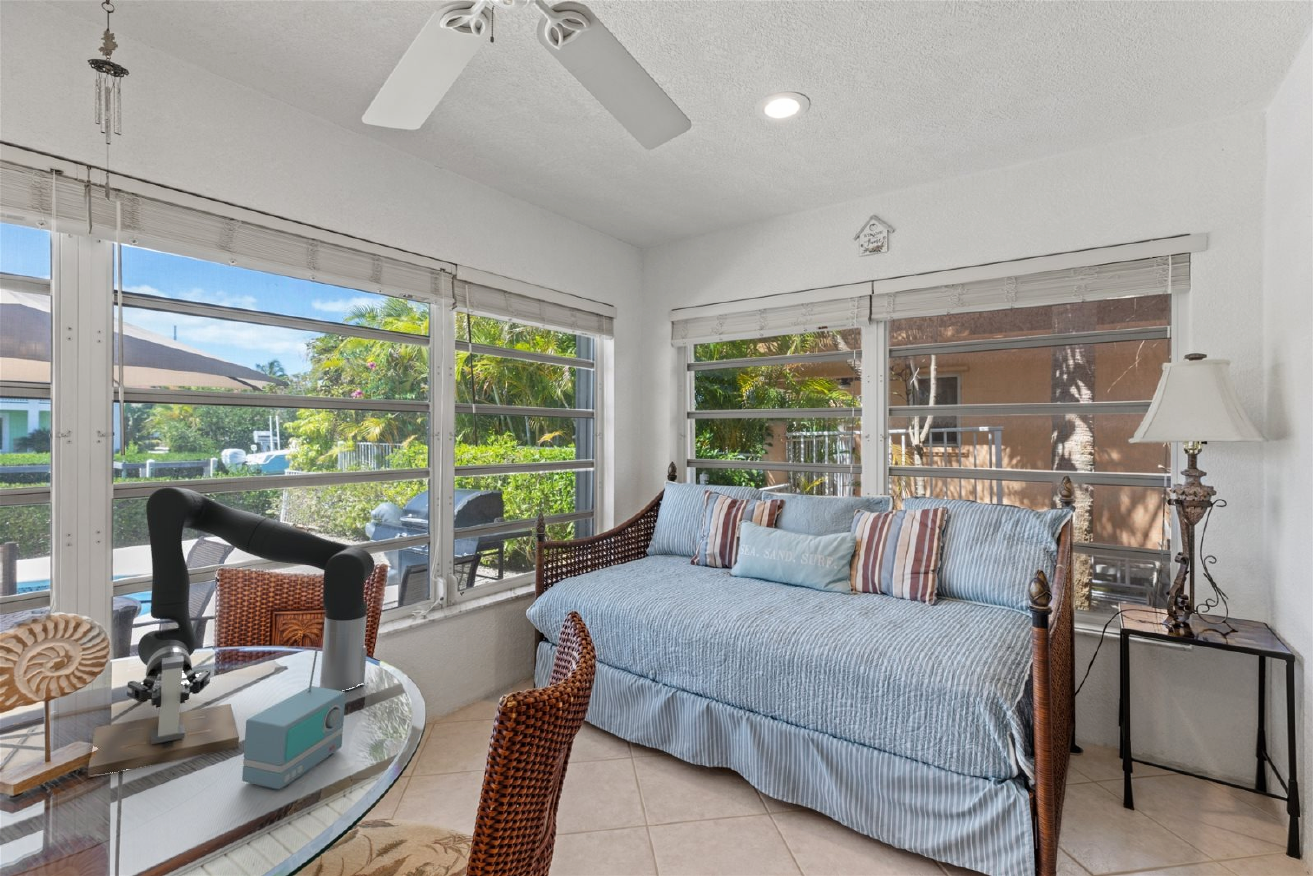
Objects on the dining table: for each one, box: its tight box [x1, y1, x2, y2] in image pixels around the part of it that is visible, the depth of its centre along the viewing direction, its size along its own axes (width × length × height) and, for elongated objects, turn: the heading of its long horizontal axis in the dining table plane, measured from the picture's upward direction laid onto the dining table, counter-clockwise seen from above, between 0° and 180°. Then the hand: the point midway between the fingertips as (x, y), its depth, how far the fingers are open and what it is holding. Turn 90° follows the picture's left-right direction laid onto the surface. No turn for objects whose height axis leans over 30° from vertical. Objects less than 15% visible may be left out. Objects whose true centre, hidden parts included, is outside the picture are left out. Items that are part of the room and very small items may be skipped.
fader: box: [151, 656, 185, 744], centre depth 121 cm, size 5×4×15 cm
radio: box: [241, 648, 346, 790], centre depth 118 cm, size 16×9×20 cm, turn 168°
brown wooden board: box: [87, 703, 240, 777], centre depth 124 cm, size 22×17×2 cm
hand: (171, 700), depth 119 cm, fingers closed on fader, 3 cm apart
